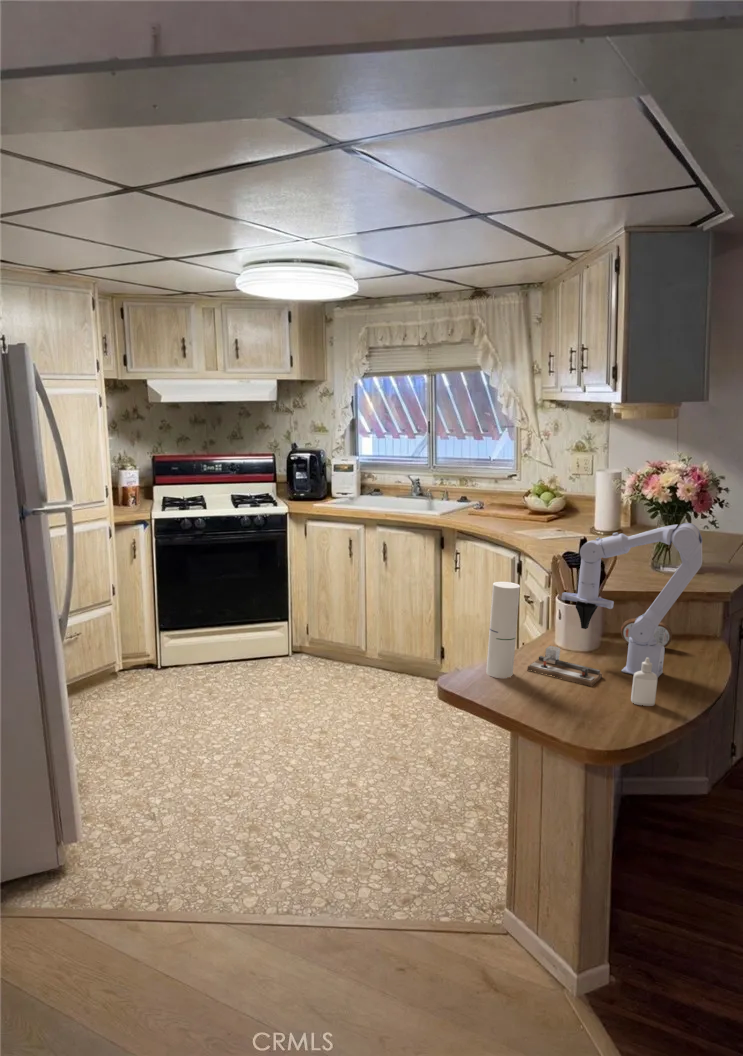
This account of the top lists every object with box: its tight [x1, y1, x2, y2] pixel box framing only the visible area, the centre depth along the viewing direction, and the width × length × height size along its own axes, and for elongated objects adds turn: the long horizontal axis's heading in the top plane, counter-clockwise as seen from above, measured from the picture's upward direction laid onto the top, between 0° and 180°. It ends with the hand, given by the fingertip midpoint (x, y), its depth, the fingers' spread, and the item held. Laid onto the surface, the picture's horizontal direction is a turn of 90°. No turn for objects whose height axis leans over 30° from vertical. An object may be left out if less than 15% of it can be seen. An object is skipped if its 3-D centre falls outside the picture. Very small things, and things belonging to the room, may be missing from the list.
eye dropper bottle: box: [630, 658, 658, 707], centre depth 189 cm, size 4×6×12 cm
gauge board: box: [527, 655, 603, 687], centre depth 208 cm, size 18×9×3 cm, turn 56°
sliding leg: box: [543, 645, 561, 666], centre depth 211 cm, size 3×7×4 cm, turn 146°
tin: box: [620, 617, 673, 649], centre depth 235 cm, size 15×3×8 cm, turn 72°
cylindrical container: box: [485, 581, 521, 679], centre depth 204 cm, size 7×7×25 cm
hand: (584, 627), depth 218 cm, fingers closed
